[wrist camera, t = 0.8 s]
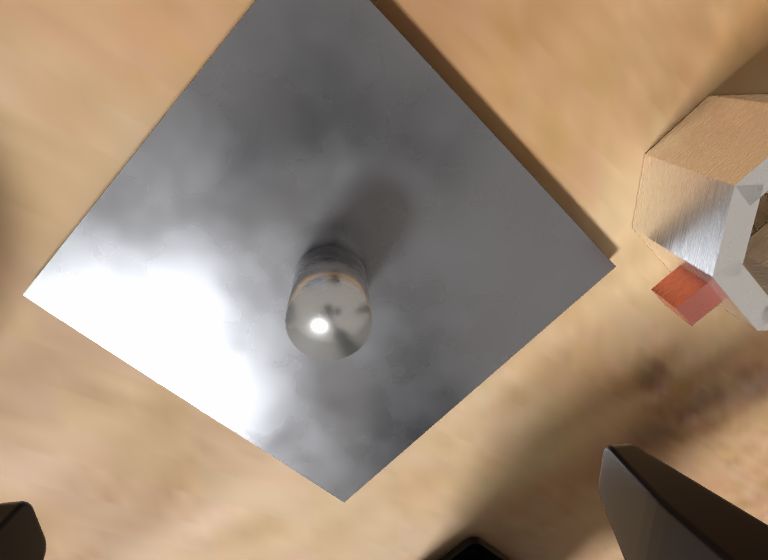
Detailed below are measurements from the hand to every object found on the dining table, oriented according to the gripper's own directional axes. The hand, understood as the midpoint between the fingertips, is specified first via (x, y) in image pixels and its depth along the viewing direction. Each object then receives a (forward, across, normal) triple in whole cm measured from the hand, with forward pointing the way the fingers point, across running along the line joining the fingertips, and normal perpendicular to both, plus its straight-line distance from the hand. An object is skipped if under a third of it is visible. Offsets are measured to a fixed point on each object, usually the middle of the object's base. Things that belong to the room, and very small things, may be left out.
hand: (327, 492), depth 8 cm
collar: (+13, -15, -1) cm, 20 cm away
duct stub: (+13, 0, +2) cm, 13 cm away
